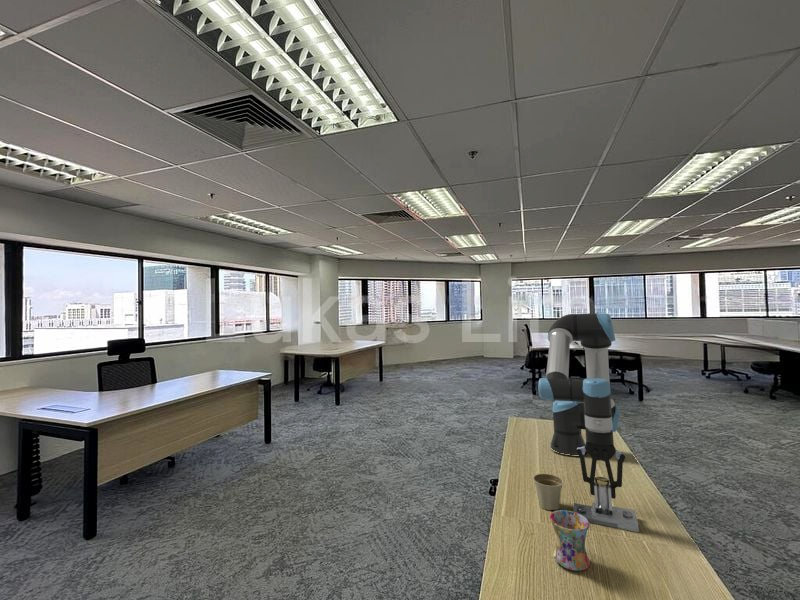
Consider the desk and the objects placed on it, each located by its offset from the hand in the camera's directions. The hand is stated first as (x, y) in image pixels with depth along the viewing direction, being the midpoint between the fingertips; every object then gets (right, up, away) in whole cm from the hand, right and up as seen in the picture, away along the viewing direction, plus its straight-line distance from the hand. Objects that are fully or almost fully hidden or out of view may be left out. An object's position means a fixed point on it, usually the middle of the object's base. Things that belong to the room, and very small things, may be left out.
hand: (603, 506), depth 111 cm
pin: (0, -4, 0) cm, 4 cm away
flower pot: (-13, -5, +9) cm, 16 cm away
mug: (-18, -4, -17) cm, 25 cm away
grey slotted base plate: (0, -4, 0) cm, 4 cm away
